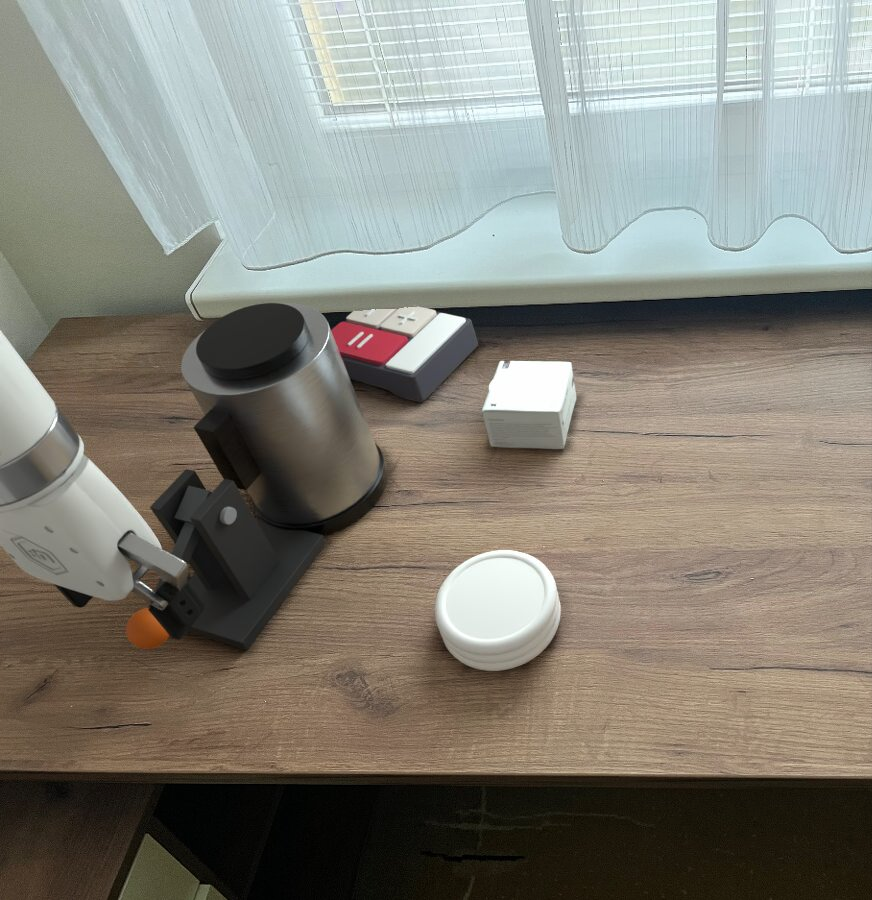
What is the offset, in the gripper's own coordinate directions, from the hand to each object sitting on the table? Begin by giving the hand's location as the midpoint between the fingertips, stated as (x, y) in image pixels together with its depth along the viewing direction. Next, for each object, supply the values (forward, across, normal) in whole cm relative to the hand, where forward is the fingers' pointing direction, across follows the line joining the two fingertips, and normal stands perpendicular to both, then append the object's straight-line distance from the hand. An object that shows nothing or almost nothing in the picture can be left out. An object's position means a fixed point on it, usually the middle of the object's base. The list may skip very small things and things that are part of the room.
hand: (140, 607), depth 67 cm
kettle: (+8, 0, +20) cm, 22 cm away
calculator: (+9, -3, +40) cm, 42 cm away
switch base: (+8, 0, +8) cm, 12 cm away
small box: (+9, +17, +34) cm, 39 cm away
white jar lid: (+8, +24, +12) cm, 28 cm away
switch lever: (+2, 0, +5) cm, 5 cm away
